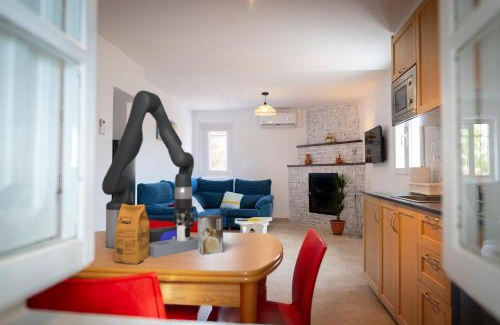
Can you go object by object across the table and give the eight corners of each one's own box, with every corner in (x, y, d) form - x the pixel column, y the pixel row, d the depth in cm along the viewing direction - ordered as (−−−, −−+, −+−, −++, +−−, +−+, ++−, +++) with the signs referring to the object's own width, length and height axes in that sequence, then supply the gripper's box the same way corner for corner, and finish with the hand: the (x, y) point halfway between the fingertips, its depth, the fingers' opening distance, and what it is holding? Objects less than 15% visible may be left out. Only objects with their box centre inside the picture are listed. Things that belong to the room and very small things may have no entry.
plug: (177, 248, 132) (177, 225, 133) (185, 247, 135) (185, 224, 135) (181, 250, 129) (181, 226, 130) (189, 248, 132) (189, 225, 132)
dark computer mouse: (145, 253, 130) (145, 230, 130) (142, 250, 134) (142, 229, 134) (181, 247, 139) (181, 226, 139) (178, 245, 143) (178, 225, 143)
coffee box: (218, 251, 131) (217, 214, 132) (223, 254, 126) (223, 215, 126) (197, 254, 127) (197, 215, 128) (202, 257, 122) (202, 217, 122)
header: (144, 256, 125) (144, 243, 125) (189, 247, 139) (189, 236, 139) (154, 260, 118) (154, 247, 118) (199, 250, 132) (199, 239, 133)
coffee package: (127, 256, 125) (128, 202, 126) (152, 258, 121) (153, 203, 122) (109, 262, 116) (109, 204, 117) (135, 265, 112) (135, 205, 112)
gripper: (167, 197, 136) (167, 234, 135) (184, 198, 125) (184, 239, 124) (182, 196, 141) (182, 232, 140) (199, 197, 130) (199, 237, 129)
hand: (183, 235), depth 132 cm, fingers open, 6 cm apart
